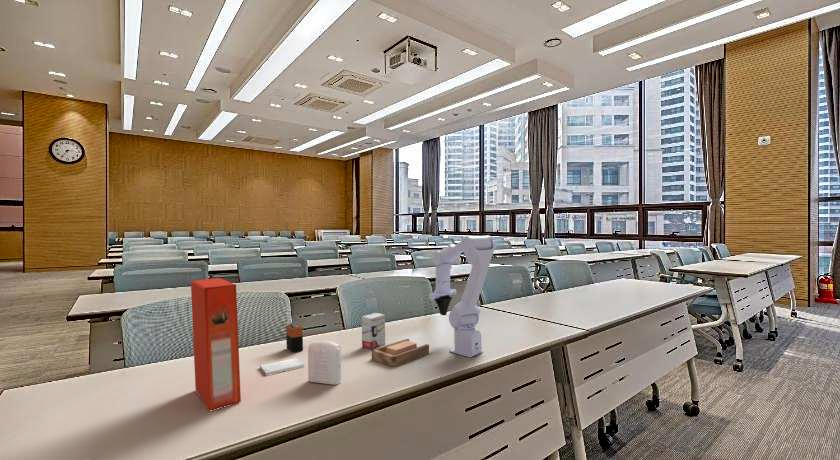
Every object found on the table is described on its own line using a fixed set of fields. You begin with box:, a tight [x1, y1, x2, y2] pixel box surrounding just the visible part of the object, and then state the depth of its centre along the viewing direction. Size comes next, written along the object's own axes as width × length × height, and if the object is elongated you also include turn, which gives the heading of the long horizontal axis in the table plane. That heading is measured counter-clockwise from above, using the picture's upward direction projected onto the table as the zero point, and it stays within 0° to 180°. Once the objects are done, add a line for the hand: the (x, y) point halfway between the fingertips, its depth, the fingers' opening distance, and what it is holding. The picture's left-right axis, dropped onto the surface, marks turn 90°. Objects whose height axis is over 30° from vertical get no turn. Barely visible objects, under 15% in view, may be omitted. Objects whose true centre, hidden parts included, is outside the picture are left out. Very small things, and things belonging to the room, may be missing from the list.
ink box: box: [361, 312, 386, 350], centre depth 154 cm, size 9×5×12 cm, turn 143°
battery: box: [285, 321, 304, 353], centre depth 150 cm, size 4×7×10 cm, turn 35°
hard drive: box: [258, 357, 305, 376], centre depth 132 cm, size 2×8×12 cm
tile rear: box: [398, 340, 418, 351], centre depth 143 cm, size 5×5×4 cm
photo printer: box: [307, 340, 342, 386], centre depth 120 cm, size 10×4×12 cm, turn 72°
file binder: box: [190, 277, 242, 412], centre depth 110 cm, size 8×17×32 cm, turn 39°
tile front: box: [386, 344, 407, 355], centre depth 139 cm, size 5×5×4 cm
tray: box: [371, 338, 430, 368], centre depth 141 cm, size 11×17×3 cm, turn 136°
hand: (443, 314), depth 158 cm, fingers closed
